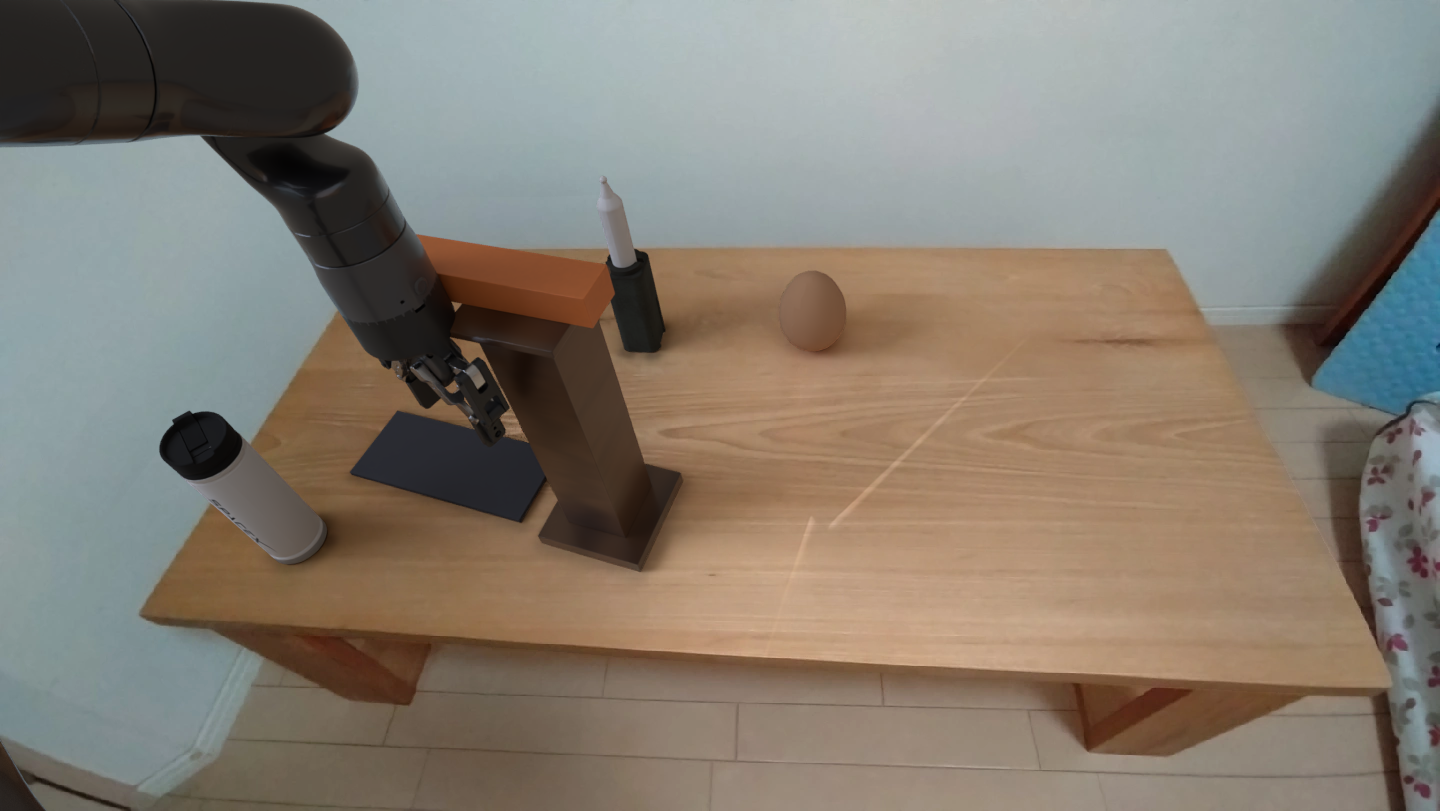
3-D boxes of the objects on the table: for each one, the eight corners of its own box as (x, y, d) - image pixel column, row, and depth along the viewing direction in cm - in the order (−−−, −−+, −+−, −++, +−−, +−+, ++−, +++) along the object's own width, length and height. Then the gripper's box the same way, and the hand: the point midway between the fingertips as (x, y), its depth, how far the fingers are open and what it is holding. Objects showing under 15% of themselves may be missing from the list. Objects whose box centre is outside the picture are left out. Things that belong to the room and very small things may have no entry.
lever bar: (615, 293, 61) (607, 264, 58) (593, 328, 58) (583, 299, 56) (408, 258, 67) (393, 230, 64) (381, 288, 64) (364, 260, 62)
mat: (562, 453, 92) (560, 450, 92) (520, 523, 86) (519, 520, 86) (399, 413, 99) (397, 410, 99) (351, 475, 93) (349, 472, 93)
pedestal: (683, 480, 87) (625, 259, 63) (640, 572, 81) (557, 364, 56) (589, 457, 91) (501, 240, 67) (541, 543, 84) (422, 336, 60)
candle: (659, 353, 101) (619, 190, 82) (622, 351, 102) (573, 190, 83) (667, 325, 104) (630, 162, 85) (630, 324, 105) (586, 163, 86)
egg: (859, 340, 98) (862, 272, 90) (815, 377, 95) (813, 310, 87) (810, 311, 103) (808, 244, 94) (767, 346, 100) (761, 279, 91)
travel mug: (315, 505, 91) (211, 396, 76) (336, 541, 87) (230, 434, 72) (264, 537, 89) (146, 431, 74) (283, 576, 85) (163, 472, 70)
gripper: (288, 284, 59) (383, 417, 71) (405, 350, 53) (487, 483, 65) (366, 229, 63) (443, 365, 75) (485, 285, 56) (547, 423, 69)
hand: (463, 420), depth 70 cm, fingers open, 8 cm apart
